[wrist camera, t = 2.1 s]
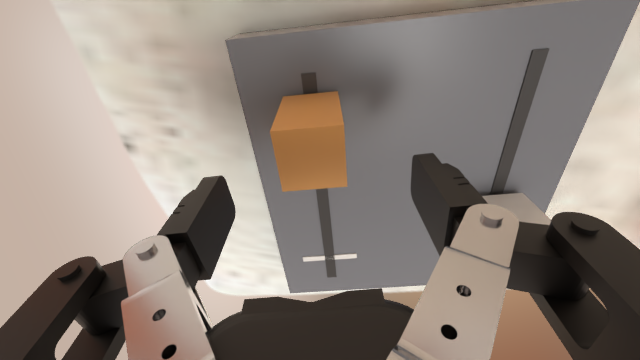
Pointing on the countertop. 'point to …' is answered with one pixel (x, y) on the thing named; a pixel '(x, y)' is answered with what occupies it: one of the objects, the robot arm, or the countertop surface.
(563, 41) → the mixer console
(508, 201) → the white fader
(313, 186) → the block
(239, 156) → the countertop surface
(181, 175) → the countertop surface
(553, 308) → the robot arm
